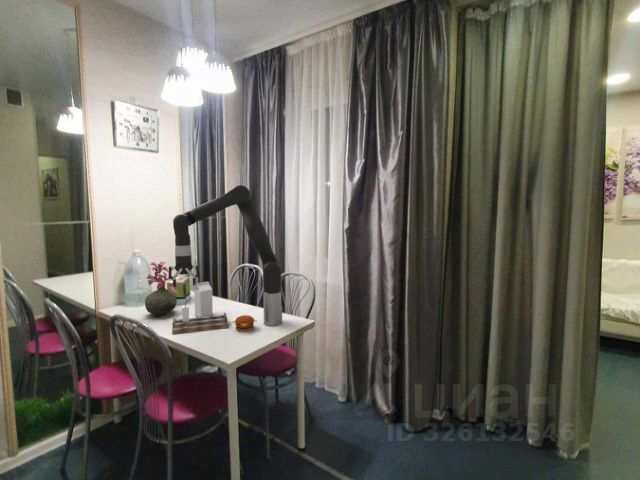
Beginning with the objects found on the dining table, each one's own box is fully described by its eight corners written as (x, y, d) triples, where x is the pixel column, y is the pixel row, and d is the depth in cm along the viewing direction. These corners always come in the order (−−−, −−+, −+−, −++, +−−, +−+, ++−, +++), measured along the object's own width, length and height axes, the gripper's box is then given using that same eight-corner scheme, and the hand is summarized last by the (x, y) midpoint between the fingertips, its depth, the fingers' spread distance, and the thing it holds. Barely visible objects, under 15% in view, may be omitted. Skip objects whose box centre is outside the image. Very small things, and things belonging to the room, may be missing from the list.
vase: (148, 311, 193) (146, 260, 190) (180, 308, 198) (178, 259, 195) (142, 320, 177) (140, 265, 174) (177, 317, 183) (175, 264, 179)
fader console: (225, 318, 182) (225, 310, 181) (227, 327, 169) (227, 319, 168) (174, 324, 173) (173, 315, 172) (172, 334, 160) (171, 325, 159)
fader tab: (189, 321, 171) (188, 304, 170) (189, 324, 166) (188, 307, 165) (183, 322, 170) (182, 305, 169) (182, 325, 165) (182, 307, 164)
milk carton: (212, 315, 187) (212, 282, 185) (201, 318, 182) (200, 284, 180) (206, 312, 192) (205, 280, 190) (194, 315, 187) (193, 282, 185)
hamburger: (231, 329, 166) (231, 317, 165) (245, 324, 174) (244, 312, 173) (244, 333, 161) (244, 320, 160) (258, 327, 169) (258, 315, 169)
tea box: (175, 298, 219) (174, 276, 217) (191, 298, 220) (190, 276, 218) (167, 305, 204) (166, 282, 202) (184, 305, 205) (183, 281, 204)
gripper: (198, 252, 170) (199, 283, 172) (168, 253, 165) (169, 285, 167) (198, 254, 163) (199, 286, 165) (167, 256, 158) (168, 289, 160)
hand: (184, 286), depth 166 cm, fingers open, 8 cm apart
